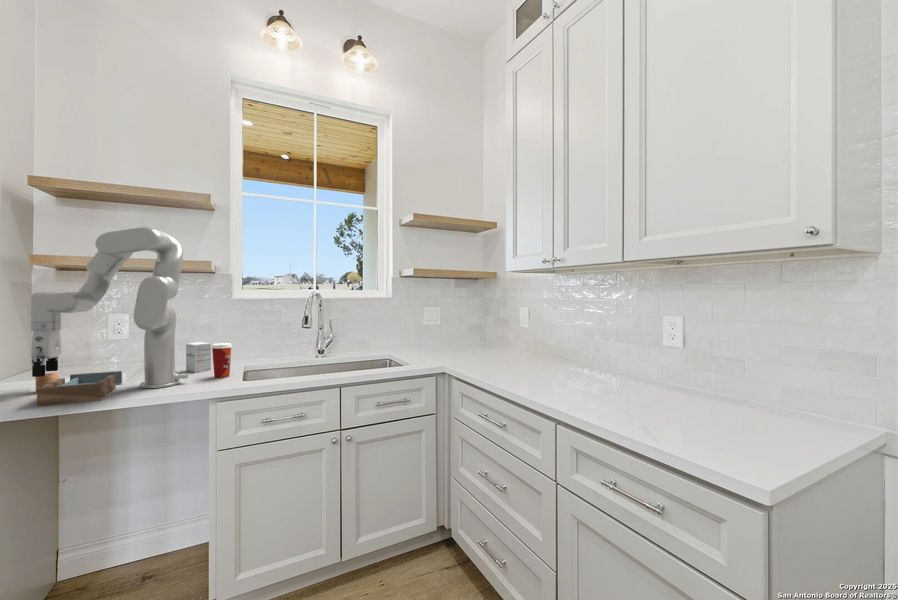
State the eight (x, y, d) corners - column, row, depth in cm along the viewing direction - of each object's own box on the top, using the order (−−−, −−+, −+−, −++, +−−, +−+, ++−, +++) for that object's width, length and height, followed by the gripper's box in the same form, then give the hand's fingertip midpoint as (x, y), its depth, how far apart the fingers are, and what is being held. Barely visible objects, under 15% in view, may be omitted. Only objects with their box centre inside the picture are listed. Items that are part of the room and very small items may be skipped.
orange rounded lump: (62, 388, 144) (62, 372, 144) (55, 392, 139) (54, 375, 139) (40, 390, 141) (40, 374, 141) (32, 394, 136) (31, 377, 136)
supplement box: (185, 371, 176) (185, 343, 176) (202, 368, 183) (202, 341, 182) (194, 372, 173) (194, 344, 172) (211, 369, 179) (211, 342, 179)
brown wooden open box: (59, 394, 137) (58, 378, 136) (115, 389, 144) (115, 374, 143) (37, 406, 123) (36, 388, 123) (100, 400, 130) (100, 383, 130)
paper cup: (231, 377, 164) (231, 344, 164) (210, 379, 161) (210, 345, 161) (232, 373, 171) (232, 342, 171) (212, 375, 168) (212, 343, 168)
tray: (71, 386, 145) (71, 374, 145) (122, 383, 152) (122, 370, 152) (53, 396, 132) (52, 383, 132) (109, 392, 139) (109, 378, 139)
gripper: (48, 328, 133) (48, 378, 134) (70, 324, 149) (69, 368, 149) (18, 328, 130) (17, 379, 130) (43, 324, 145) (43, 369, 146)
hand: (45, 373), depth 140 cm, fingers open, 9 cm apart
